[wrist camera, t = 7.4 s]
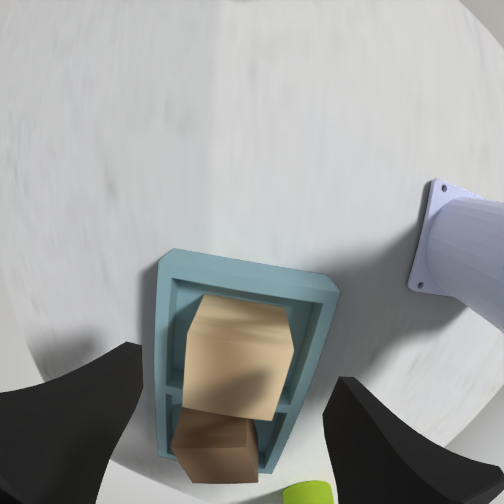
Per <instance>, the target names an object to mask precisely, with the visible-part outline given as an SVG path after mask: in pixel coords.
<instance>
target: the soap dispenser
mask: <svg viewBox="0 0 504 504" xmlns="http://www.w3.org/2000/svg"><path fill="white" fill-rule="evenodd" d="M282 496H283V504H334V500H333V495H332V490H331V486H330V484H329V483H327V482H323V481H307V482H301V483H297V484H294V485H292V486H290V487H288V488H286V489H285V490H284V491H283V493H282Z"/></svg>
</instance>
